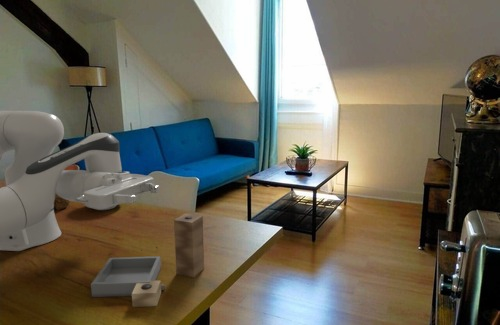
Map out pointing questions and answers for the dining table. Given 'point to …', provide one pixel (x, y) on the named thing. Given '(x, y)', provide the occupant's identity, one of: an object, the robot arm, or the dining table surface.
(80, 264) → the dining table surface
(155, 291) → the block
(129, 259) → the tray
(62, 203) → the stuffed squirrel
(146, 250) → the dining table surface
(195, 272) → the block
